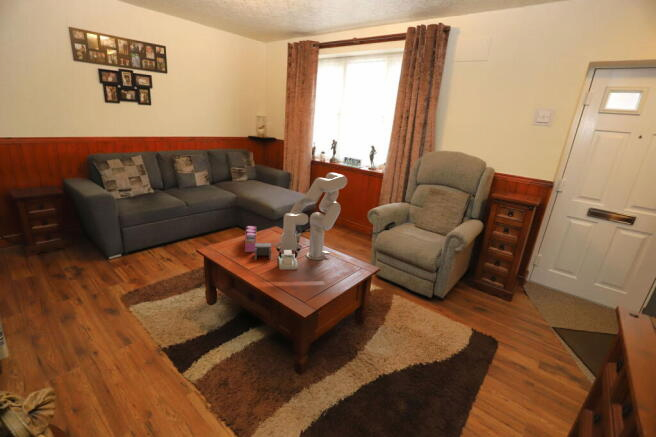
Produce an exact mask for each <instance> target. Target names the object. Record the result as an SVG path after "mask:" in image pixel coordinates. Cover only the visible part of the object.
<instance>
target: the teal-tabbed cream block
mask: <svg viewBox="0 0 656 437" xmlns="http://www.w3.org/2000/svg"><path fill="white" fill-rule="evenodd" d="M292 251H293V250H283V254H284V265H292V259H293V258H292V254H293V252H292Z"/></svg>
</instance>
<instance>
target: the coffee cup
mask: <svg viewBox="0 0 656 437" xmlns="http://www.w3.org/2000/svg"><path fill="white" fill-rule="evenodd" d="M295 230H296V231H298V233H296V239H297V243H298V244H300V240H301V235H302V232H303V229H302V228H301V227H300V226H299V225H296V227H295ZM297 248H299V246H297Z"/></svg>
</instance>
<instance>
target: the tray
mask: <svg viewBox="0 0 656 437" xmlns="http://www.w3.org/2000/svg"><path fill="white" fill-rule="evenodd" d="M292 258H293V259H292V265H284V253H281V258H280V257H279V256H278V267H279V268H278V269H279V271H280V270H281V271H282V270H286V271H287V270H294V271H296V270H298V268H299V267H298V260H297V257H296V258H295V253H294V254H293V253H292Z"/></svg>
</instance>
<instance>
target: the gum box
mask: <svg viewBox="0 0 656 437" xmlns="http://www.w3.org/2000/svg"><path fill="white" fill-rule="evenodd" d="M244 238H245V241H244V242H245V244H244V252H245V253H246V252H247V253H248V252H254V253H255V243H257V226H256V225H246V226H245V236H244Z"/></svg>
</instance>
